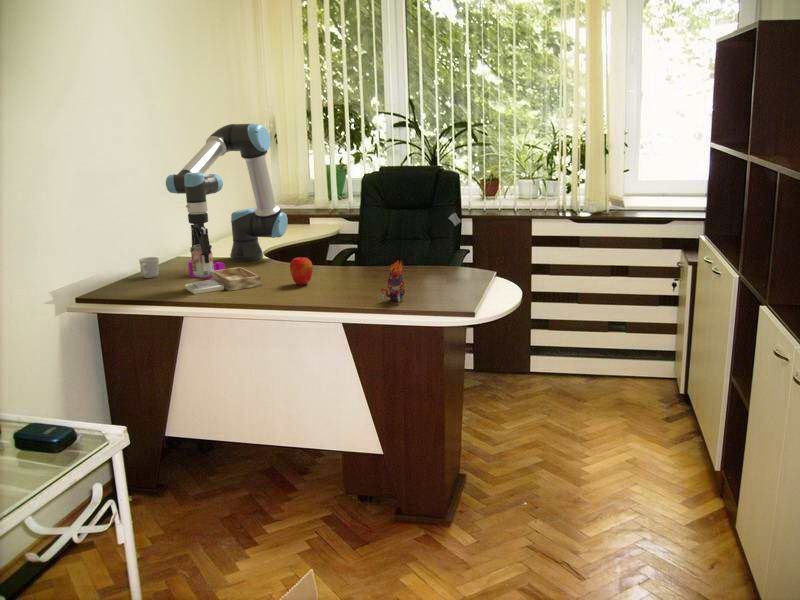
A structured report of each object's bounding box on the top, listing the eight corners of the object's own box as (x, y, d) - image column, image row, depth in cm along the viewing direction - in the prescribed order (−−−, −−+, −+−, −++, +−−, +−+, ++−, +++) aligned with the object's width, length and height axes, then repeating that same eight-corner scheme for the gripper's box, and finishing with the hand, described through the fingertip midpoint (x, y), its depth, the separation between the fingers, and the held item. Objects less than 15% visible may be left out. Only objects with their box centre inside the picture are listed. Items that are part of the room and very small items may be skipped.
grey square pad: (210, 282, 320) (210, 279, 320) (217, 285, 313) (216, 283, 313) (191, 284, 316) (191, 282, 316) (197, 288, 309) (197, 286, 309)
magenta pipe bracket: (184, 275, 340) (183, 261, 339) (203, 271, 348) (201, 257, 346) (209, 280, 331) (207, 265, 329) (227, 275, 339) (226, 261, 337)
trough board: (242, 275, 336) (242, 266, 335) (262, 285, 318) (261, 276, 317) (211, 280, 329) (210, 271, 328) (228, 290, 311) (228, 280, 310)
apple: (298, 288, 312) (296, 258, 309) (286, 284, 319) (284, 255, 316) (317, 284, 318) (316, 255, 315) (306, 280, 325) (304, 252, 322)
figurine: (377, 303, 286) (376, 263, 283) (386, 297, 295) (385, 258, 291) (399, 305, 283) (398, 264, 280) (408, 299, 292) (407, 259, 288)
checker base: (214, 284, 323) (213, 279, 323) (223, 289, 313) (223, 285, 313) (185, 288, 317) (184, 283, 317) (194, 294, 307) (193, 289, 307)
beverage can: (191, 273, 316) (188, 244, 313) (212, 271, 320) (209, 242, 316) (194, 278, 308) (191, 248, 305) (216, 276, 311) (213, 246, 308)
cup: (151, 280, 332) (149, 262, 330) (134, 280, 333) (132, 262, 331) (163, 275, 342) (162, 257, 340) (147, 274, 344) (145, 256, 342)
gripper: (179, 210, 315) (185, 265, 321) (196, 217, 296) (202, 275, 302) (198, 208, 318) (203, 262, 324) (216, 215, 300) (221, 272, 306)
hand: (203, 268), depth 313 cm, fingers closed on beverage can, 9 cm apart
